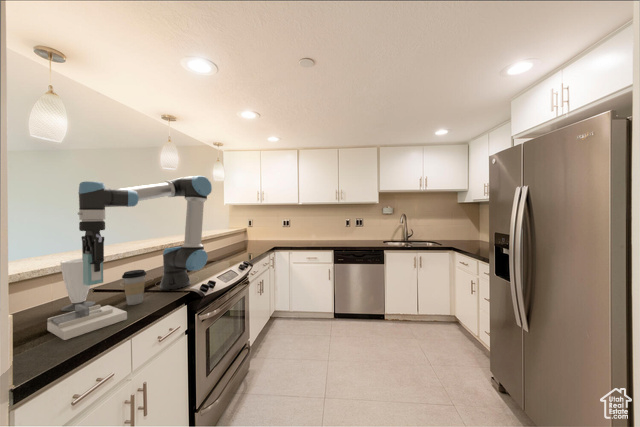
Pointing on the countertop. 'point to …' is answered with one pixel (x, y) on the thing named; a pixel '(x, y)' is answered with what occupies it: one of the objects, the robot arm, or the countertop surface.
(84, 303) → the cup
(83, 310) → the shutter
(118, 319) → the socket plate
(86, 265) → the teal bottle
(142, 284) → the coffee cup
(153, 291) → the countertop surface
